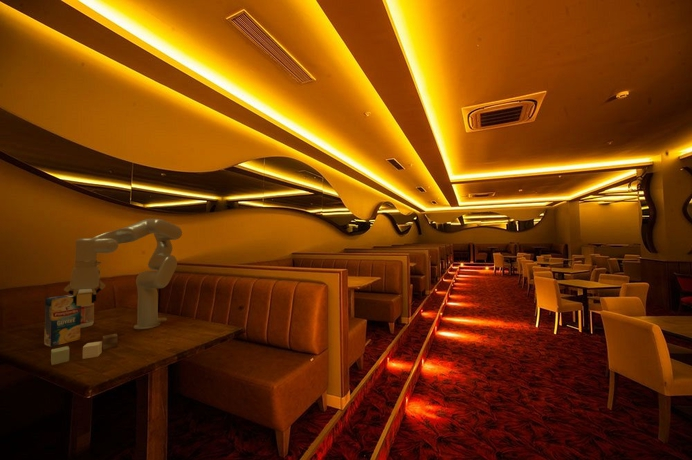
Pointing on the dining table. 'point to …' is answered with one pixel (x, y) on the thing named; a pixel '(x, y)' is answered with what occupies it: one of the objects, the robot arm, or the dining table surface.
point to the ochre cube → (84, 299)
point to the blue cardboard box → (61, 320)
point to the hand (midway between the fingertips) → (85, 303)
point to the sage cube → (59, 355)
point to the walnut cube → (110, 341)
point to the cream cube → (92, 349)
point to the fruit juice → (86, 311)
